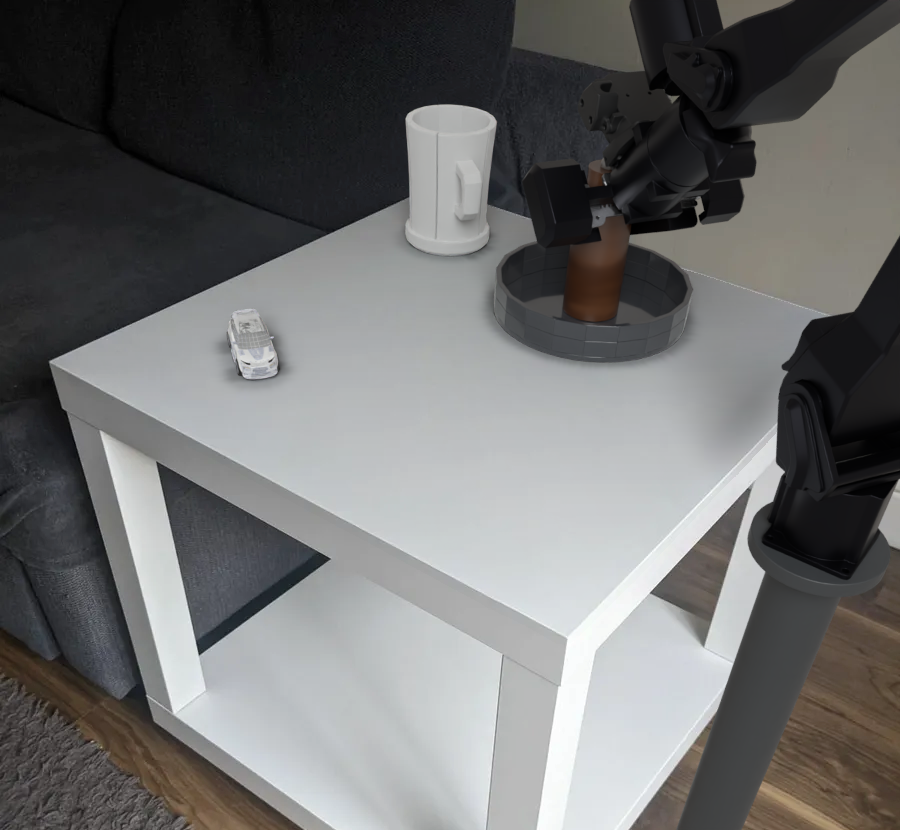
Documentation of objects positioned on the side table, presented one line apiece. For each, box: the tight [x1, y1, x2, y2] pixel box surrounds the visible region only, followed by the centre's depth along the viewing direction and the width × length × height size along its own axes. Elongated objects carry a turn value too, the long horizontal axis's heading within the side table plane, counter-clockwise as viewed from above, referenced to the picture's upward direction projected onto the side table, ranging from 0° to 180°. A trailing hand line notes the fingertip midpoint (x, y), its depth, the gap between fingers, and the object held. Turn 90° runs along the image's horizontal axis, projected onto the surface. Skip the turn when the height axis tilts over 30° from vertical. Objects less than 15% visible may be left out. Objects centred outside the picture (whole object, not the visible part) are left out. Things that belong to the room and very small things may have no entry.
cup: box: [404, 104, 498, 257], centre depth 99 cm, size 10×9×12 cm
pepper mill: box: [563, 157, 632, 322], centre depth 88 cm, size 5×5×14 cm
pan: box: [493, 240, 694, 363], centre depth 92 cm, size 18×18×4 cm
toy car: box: [226, 307, 281, 380], centre depth 84 cm, size 4×8×3 cm, turn 18°
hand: (592, 234), depth 89 cm, fingers closed on pepper mill, 5 cm apart
